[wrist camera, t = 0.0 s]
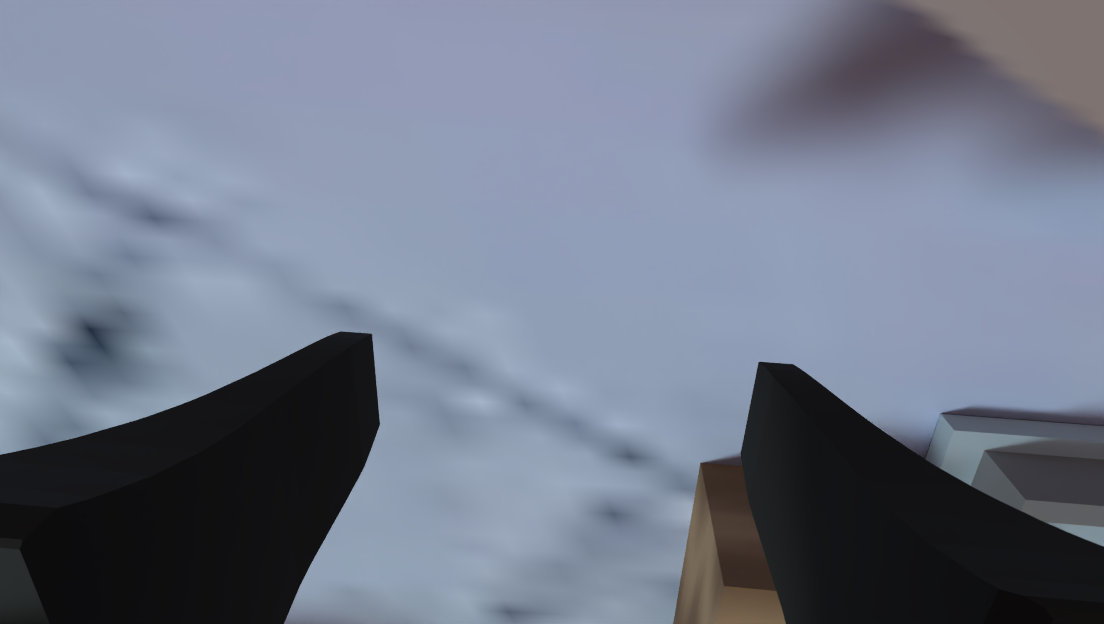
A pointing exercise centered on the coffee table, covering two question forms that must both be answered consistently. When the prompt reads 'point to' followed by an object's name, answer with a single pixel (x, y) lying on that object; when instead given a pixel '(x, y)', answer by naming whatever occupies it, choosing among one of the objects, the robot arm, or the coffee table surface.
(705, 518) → the tan wooden block
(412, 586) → the coffee table surface
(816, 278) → the coffee table surface
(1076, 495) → the board
